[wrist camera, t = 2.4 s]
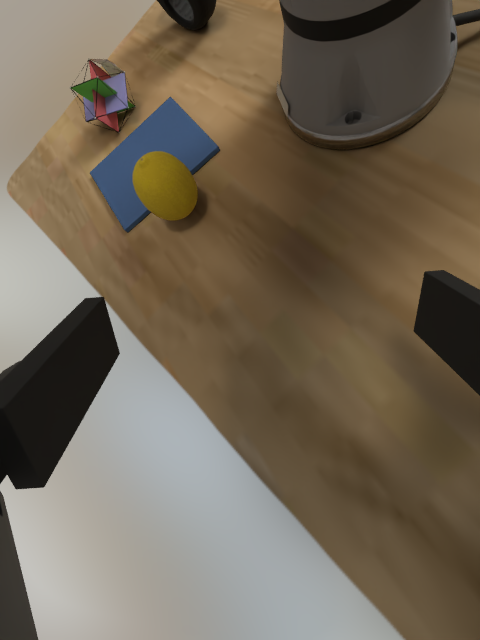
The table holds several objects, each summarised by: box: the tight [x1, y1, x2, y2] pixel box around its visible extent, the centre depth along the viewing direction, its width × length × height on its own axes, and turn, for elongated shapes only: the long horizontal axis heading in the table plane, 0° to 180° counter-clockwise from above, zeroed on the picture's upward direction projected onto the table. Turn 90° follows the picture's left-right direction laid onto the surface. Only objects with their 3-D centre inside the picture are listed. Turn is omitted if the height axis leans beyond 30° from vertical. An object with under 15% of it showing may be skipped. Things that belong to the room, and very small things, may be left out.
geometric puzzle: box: [70, 59, 136, 133], centre depth 41 cm, size 7×7×8 cm
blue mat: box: [90, 97, 220, 232], centre depth 39 cm, size 14×12×1 cm
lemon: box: [133, 151, 198, 220], centre depth 32 cm, size 6×6×8 cm
